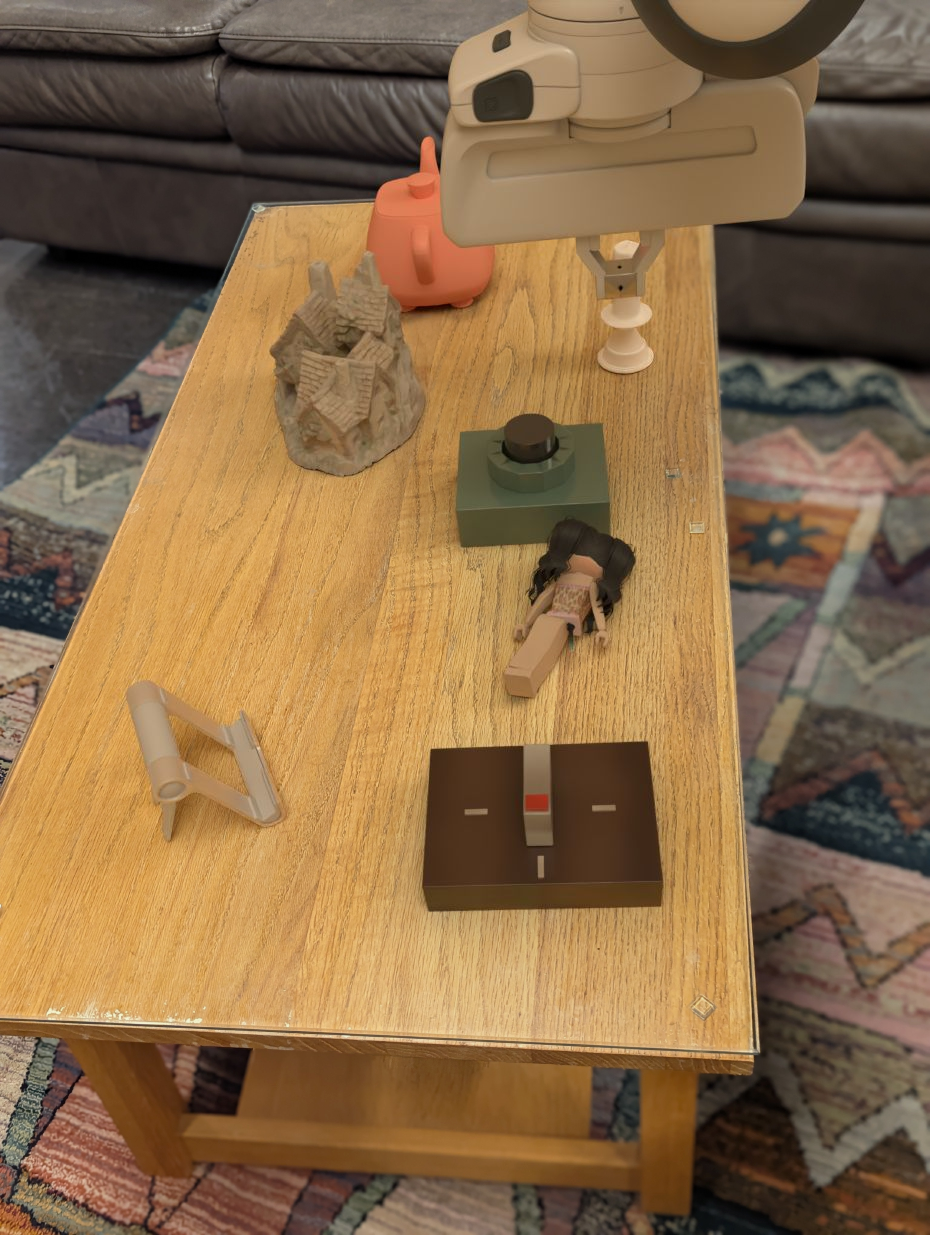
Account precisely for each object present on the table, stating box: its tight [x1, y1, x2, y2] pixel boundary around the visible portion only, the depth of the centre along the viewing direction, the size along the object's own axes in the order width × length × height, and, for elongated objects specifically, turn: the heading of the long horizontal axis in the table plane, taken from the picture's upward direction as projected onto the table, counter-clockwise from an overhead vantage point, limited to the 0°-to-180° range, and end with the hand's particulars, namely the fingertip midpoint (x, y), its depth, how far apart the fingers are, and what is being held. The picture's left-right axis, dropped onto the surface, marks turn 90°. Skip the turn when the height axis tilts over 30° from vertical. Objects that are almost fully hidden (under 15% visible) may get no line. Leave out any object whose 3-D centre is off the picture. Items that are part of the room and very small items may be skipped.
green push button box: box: [455, 421, 611, 548], centre depth 88 cm, size 12×10×6 cm
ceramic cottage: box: [269, 250, 426, 478], centre depth 96 cm, size 16×16×15 cm
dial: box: [522, 743, 553, 846], centre depth 65 cm, size 5×2×4 cm, turn 178°
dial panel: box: [421, 740, 664, 912], centre depth 67 cm, size 14×10×3 cm
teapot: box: [365, 136, 496, 313], centre depth 111 cm, size 13×20×12 cm, turn 178°
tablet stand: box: [125, 679, 287, 842], centre depth 70 cm, size 9×8×8 cm
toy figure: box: [502, 515, 636, 699], centre depth 78 cm, size 7×6×15 cm
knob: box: [504, 412, 556, 464], centre depth 85 cm, size 4×4×2 cm
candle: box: [596, 239, 655, 374], centre depth 98 cm, size 5×5×12 cm
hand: (619, 293), depth 66 cm, fingers closed
